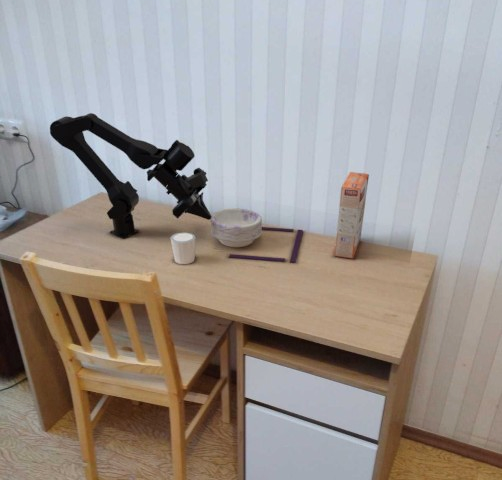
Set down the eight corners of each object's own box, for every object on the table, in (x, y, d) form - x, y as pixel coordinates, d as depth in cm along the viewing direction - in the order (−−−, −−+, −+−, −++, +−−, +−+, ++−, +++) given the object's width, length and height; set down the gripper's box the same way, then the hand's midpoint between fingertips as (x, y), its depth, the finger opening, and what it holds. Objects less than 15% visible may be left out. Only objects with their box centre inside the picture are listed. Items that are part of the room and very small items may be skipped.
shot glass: (172, 254, 154) (170, 232, 150) (196, 253, 155) (195, 231, 151) (171, 265, 148) (169, 242, 145) (196, 264, 149) (195, 241, 145)
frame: (228, 257, 152) (228, 256, 152) (243, 226, 171) (243, 225, 171) (295, 262, 150) (295, 261, 149) (302, 231, 168) (302, 229, 168)
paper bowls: (269, 235, 165) (269, 211, 161) (249, 255, 153) (248, 230, 149) (225, 228, 171) (224, 204, 166) (202, 246, 159) (201, 221, 155)
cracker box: (354, 259, 151) (362, 188, 140) (333, 256, 153) (339, 186, 142) (362, 240, 162) (370, 172, 151) (342, 237, 164) (348, 170, 153)
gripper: (179, 172, 144) (221, 213, 148) (198, 153, 160) (235, 190, 163) (155, 198, 149) (195, 237, 153) (175, 177, 165) (211, 213, 169)
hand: (210, 218), depth 160 cm, fingers closed, pressing on paper bowls
